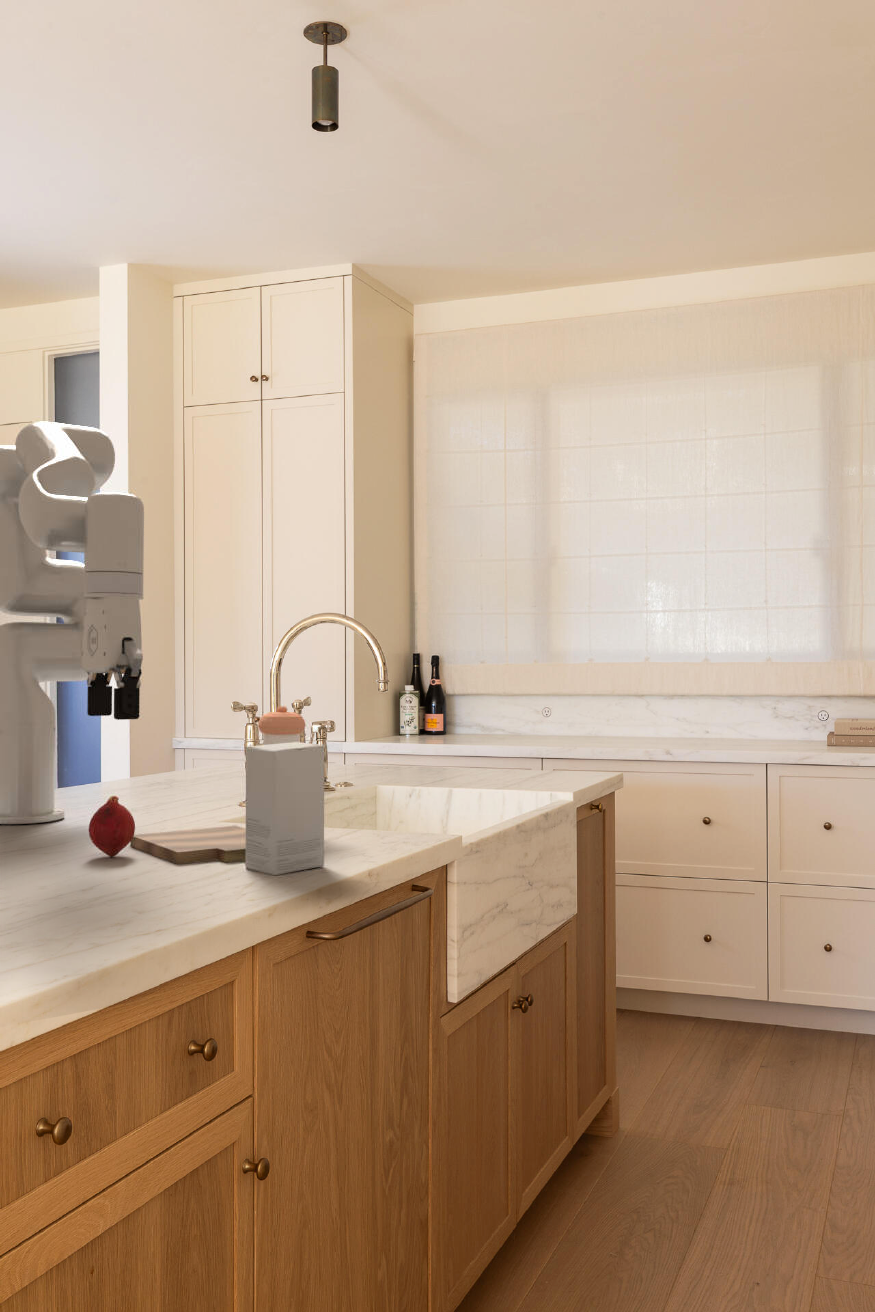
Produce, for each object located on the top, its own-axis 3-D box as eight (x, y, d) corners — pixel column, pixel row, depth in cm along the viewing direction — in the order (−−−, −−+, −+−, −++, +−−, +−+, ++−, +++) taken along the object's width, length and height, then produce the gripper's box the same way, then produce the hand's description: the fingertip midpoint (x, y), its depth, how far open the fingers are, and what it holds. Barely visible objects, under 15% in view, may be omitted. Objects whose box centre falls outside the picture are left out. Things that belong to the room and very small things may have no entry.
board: (130, 846, 153) (130, 835, 153) (235, 835, 162) (235, 825, 162) (185, 867, 138) (185, 855, 138) (296, 854, 148) (297, 843, 148)
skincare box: (295, 860, 143) (297, 741, 143) (327, 868, 139) (328, 744, 139) (242, 869, 137) (243, 744, 138) (273, 877, 133) (274, 748, 133)
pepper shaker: (300, 830, 168) (301, 705, 168) (309, 837, 161) (311, 707, 161) (252, 832, 166) (253, 705, 166) (260, 840, 159) (261, 707, 159)
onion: (121, 861, 141) (121, 799, 141) (80, 859, 143) (80, 798, 143) (142, 853, 147) (142, 794, 147) (102, 851, 148) (103, 792, 148)
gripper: (64, 589, 150) (62, 715, 150) (109, 583, 136) (108, 721, 136) (117, 591, 154) (116, 713, 154) (167, 586, 140) (166, 720, 140)
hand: (112, 717), depth 145 cm, fingers open, 9 cm apart
